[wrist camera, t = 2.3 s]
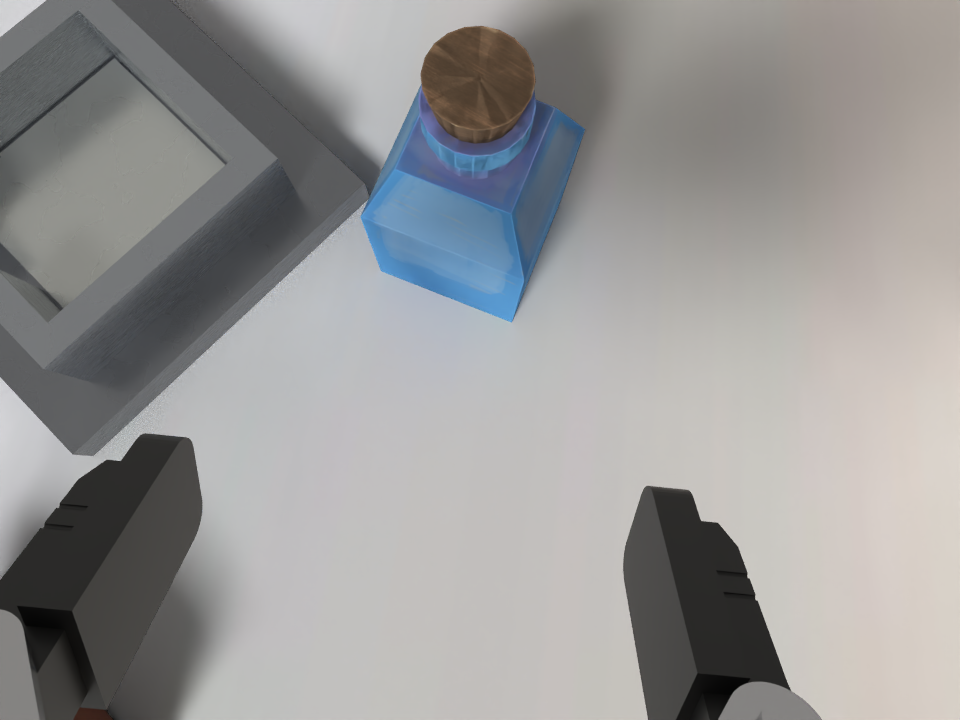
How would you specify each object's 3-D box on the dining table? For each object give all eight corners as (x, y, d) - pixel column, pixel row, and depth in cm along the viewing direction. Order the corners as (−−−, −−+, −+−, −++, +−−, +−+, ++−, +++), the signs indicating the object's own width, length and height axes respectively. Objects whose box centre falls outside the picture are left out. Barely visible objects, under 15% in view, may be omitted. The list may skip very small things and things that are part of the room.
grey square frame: (146, -12, 32) (96, -91, 28) (369, 197, 31) (353, 149, 26) (-133, 216, 30) (-235, 169, 26) (93, 455, 28) (24, 450, 24)
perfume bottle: (381, 271, 30) (328, 133, 18) (434, 150, 31) (417, -52, 20) (511, 322, 30) (543, 216, 18) (561, 199, 31) (621, 23, 19)
